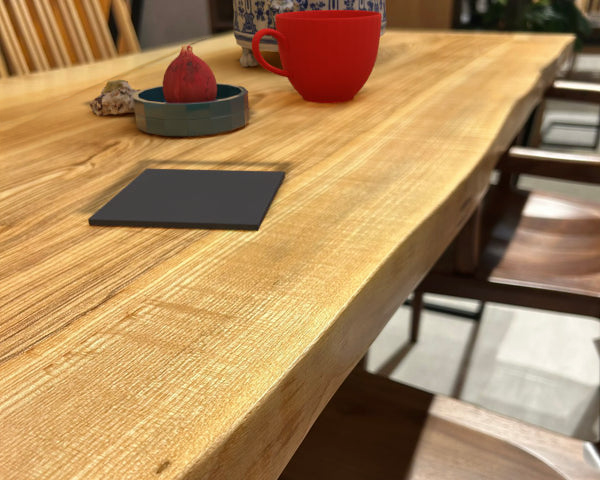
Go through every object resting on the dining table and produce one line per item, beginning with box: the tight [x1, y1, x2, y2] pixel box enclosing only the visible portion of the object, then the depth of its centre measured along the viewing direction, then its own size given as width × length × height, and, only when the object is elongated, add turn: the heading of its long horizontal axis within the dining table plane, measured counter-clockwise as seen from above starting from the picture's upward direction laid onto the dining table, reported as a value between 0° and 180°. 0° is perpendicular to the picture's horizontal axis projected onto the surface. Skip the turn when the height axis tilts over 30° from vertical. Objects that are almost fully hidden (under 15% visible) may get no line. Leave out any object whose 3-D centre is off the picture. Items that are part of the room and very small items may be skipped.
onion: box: [162, 43, 218, 103], centre depth 69 cm, size 6×6×8 cm
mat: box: [87, 168, 286, 232], centre depth 49 cm, size 12×12×1 cm
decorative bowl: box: [232, 0, 387, 68], centre depth 112 cm, size 42×27×15 cm, turn 169°
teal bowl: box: [133, 82, 250, 138], centre depth 70 cm, size 12×12×4 cm
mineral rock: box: [89, 79, 141, 117], centre depth 78 cm, size 11×4×8 cm
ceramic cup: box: [252, 10, 382, 105], centre depth 79 cm, size 13×17×10 cm
